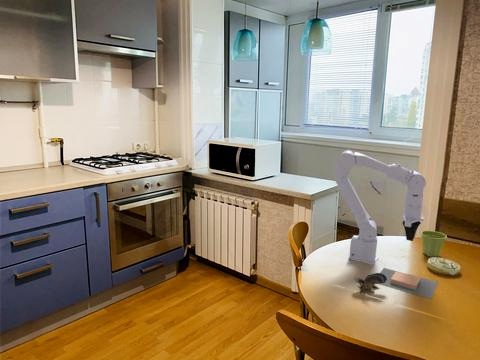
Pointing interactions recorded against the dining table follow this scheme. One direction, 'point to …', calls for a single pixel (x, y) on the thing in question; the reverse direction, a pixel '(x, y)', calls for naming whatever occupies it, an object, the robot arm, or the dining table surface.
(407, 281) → the tile
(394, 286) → the mat
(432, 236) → the plant pot
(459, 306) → the dining table surface
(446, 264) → the decorated donut
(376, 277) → the eagle figurine
